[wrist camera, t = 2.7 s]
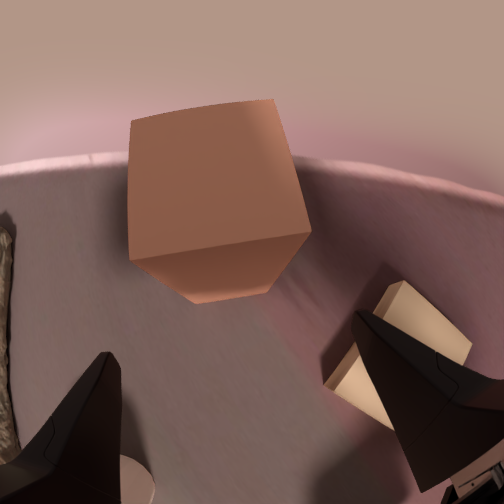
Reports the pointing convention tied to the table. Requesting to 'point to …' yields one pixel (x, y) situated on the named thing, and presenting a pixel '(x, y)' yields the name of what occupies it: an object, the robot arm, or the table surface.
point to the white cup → (135, 482)
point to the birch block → (411, 322)
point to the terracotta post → (214, 200)
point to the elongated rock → (5, 356)
